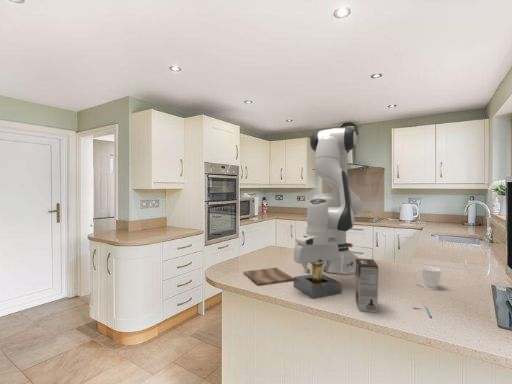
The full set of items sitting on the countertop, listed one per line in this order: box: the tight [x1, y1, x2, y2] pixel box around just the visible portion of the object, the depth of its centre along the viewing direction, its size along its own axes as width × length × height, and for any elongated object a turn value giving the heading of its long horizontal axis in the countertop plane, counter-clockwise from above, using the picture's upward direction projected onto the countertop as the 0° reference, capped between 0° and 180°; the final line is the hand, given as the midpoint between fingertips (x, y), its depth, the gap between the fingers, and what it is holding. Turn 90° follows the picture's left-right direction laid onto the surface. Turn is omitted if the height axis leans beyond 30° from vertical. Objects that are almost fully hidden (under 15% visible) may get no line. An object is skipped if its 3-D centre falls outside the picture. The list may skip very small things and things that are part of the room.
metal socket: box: [293, 273, 343, 299], centre depth 116 cm, size 14×14×4 cm
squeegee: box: [411, 307, 433, 319], centre depth 99 cm, size 15×1×5 cm
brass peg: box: [310, 260, 324, 284], centre depth 116 cm, size 6×6×13 cm
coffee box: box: [354, 258, 379, 313], centre depth 100 cm, size 9×6×16 cm
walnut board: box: [243, 267, 294, 287], centre depth 131 cm, size 18×18×1 cm
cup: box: [413, 266, 442, 290], centre depth 120 cm, size 7×10×8 cm
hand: (316, 272), depth 115 cm, fingers open, 8 cm apart
